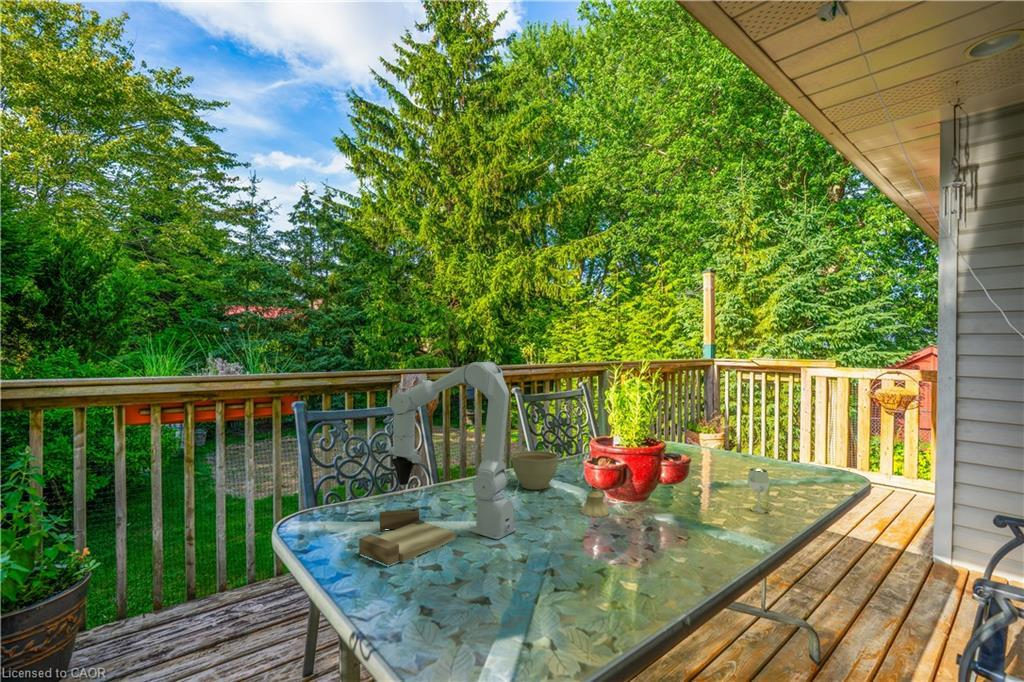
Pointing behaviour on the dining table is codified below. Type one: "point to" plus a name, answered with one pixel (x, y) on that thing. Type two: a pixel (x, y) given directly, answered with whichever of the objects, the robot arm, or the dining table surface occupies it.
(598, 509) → the hand bell
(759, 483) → the wineglass
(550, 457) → the planter bowl
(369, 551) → the stool top
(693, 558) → the dining table surface
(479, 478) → the robot arm
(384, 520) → the folding leg
